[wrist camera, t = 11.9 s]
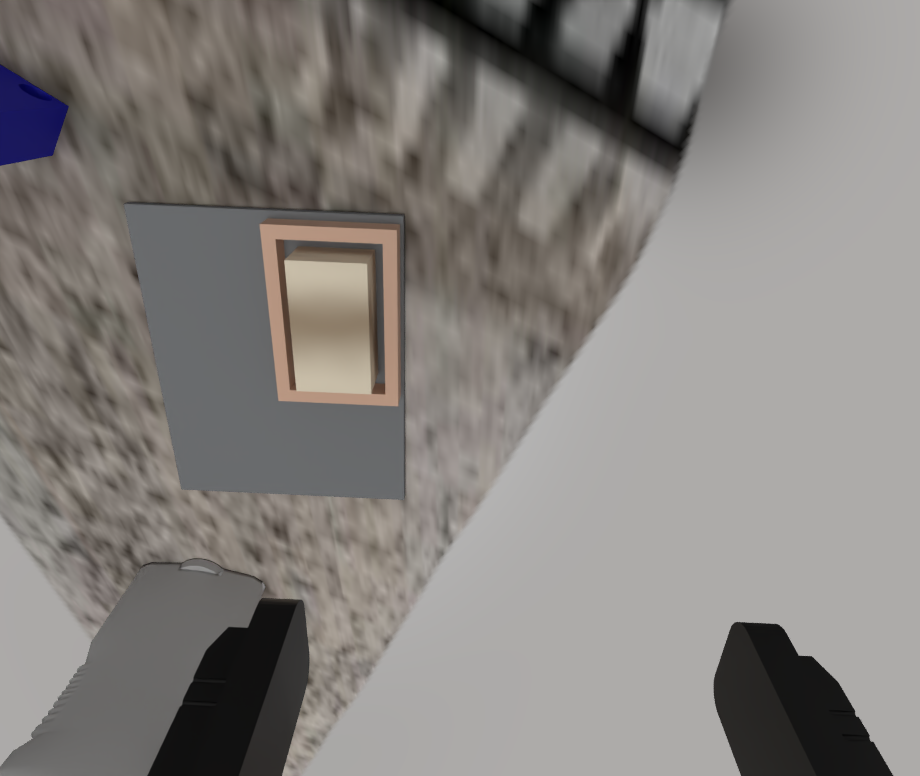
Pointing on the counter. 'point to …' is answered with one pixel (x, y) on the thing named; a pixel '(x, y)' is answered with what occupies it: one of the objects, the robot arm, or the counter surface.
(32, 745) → the tall pale column
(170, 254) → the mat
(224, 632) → the robot arm
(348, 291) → the beige rectangular prism
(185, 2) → the counter surface
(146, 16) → the counter surface
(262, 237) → the frame
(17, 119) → the cable clip
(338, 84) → the counter surface
